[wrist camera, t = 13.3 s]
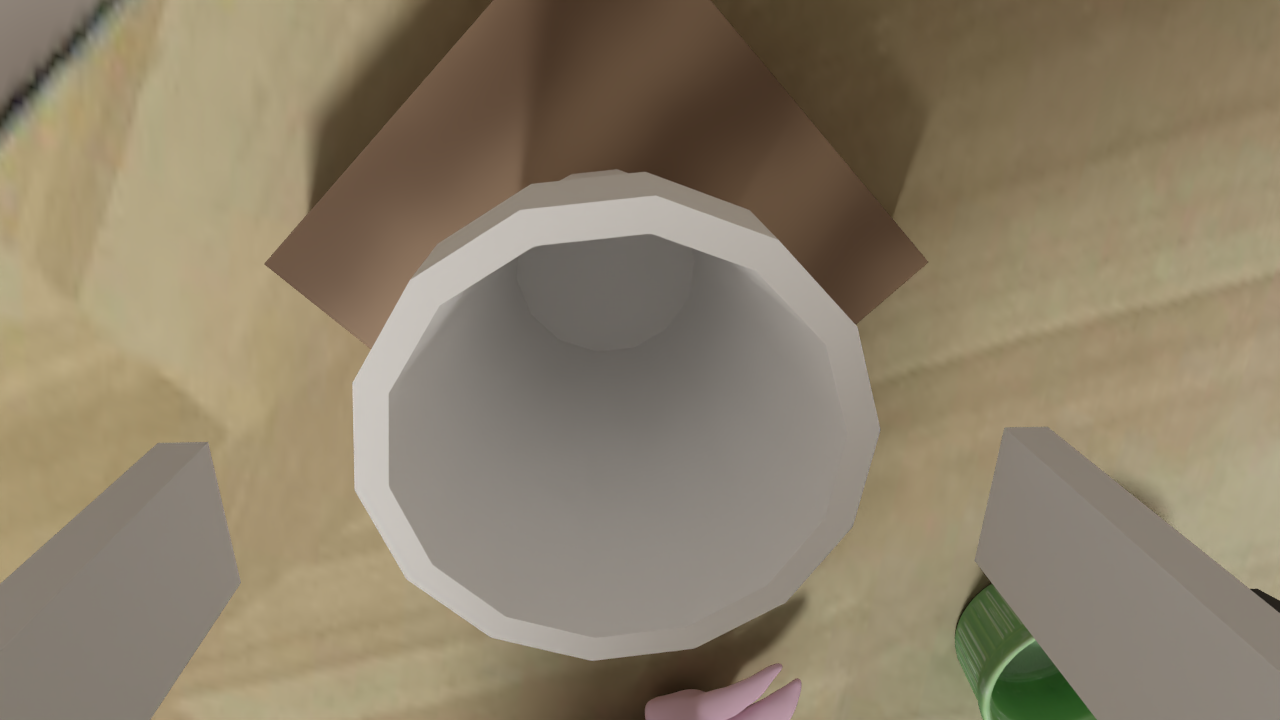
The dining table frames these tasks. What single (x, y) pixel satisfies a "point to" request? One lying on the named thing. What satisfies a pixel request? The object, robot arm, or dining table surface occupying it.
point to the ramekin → (1011, 666)
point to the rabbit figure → (729, 701)
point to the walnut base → (589, 151)
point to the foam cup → (613, 419)
